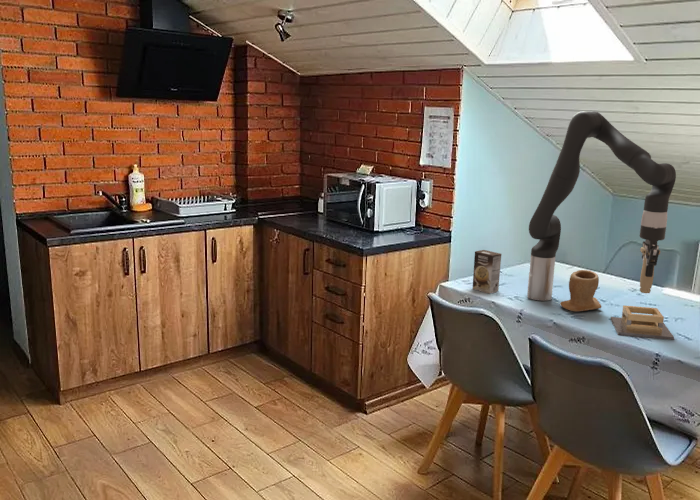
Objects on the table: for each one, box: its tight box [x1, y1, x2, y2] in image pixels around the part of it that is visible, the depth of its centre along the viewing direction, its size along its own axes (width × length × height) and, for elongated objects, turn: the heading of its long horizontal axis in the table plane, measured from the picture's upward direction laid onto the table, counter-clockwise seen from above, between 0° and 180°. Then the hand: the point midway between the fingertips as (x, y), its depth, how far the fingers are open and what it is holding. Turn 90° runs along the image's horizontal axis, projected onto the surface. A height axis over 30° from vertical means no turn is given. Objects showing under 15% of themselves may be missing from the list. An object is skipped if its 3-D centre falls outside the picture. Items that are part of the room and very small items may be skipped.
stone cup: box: [559, 269, 602, 312], centre depth 228 cm, size 15×12×15 cm
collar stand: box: [610, 305, 675, 341], centre depth 209 cm, size 17×16×6 cm
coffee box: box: [472, 249, 502, 295], centre depth 251 cm, size 9×6×16 cm
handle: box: [639, 246, 661, 294], centre depth 205 cm, size 5×6×15 cm
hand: (647, 274), depth 205 cm, fingers closed on handle, 4 cm apart
